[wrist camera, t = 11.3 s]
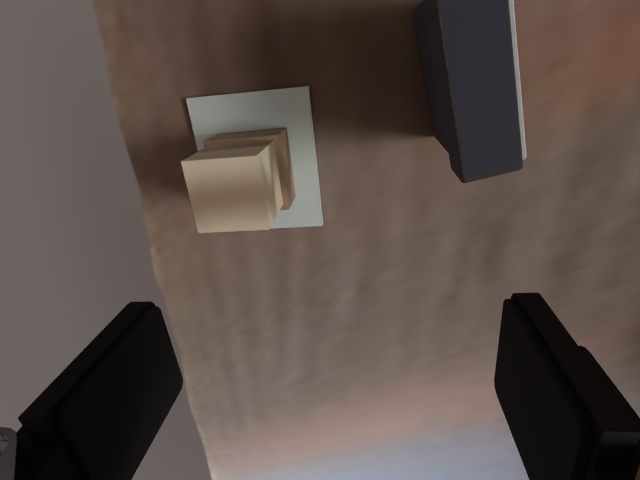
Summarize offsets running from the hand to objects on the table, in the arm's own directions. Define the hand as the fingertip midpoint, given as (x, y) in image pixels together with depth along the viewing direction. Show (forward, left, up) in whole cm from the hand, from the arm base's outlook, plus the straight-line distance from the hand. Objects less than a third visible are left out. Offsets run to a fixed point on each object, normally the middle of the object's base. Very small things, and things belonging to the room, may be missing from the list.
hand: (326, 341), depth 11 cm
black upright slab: (-5, +8, -31) cm, 32 cm away
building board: (+2, -10, -30) cm, 32 cm away
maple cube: (+2, -10, -26) cm, 28 cm away
